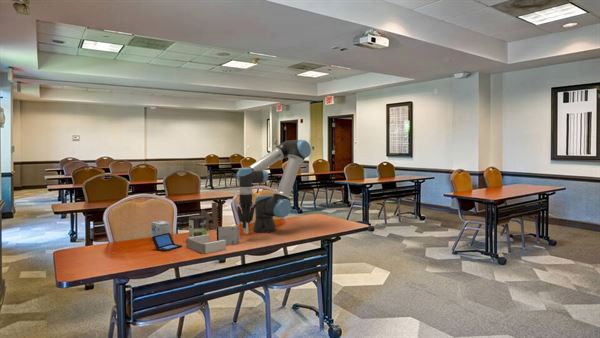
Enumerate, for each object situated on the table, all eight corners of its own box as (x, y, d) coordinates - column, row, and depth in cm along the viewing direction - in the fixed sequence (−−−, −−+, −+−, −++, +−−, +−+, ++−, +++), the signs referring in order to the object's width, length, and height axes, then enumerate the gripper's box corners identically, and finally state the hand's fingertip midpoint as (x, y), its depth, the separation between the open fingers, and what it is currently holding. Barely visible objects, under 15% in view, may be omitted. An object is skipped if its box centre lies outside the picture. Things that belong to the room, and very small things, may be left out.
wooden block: (201, 230, 261) (201, 203, 260) (216, 227, 268) (215, 202, 267) (204, 231, 258) (203, 204, 257) (218, 228, 265) (218, 202, 264)
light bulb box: (151, 239, 236) (151, 221, 236) (162, 237, 241) (161, 220, 241) (160, 242, 229) (159, 223, 229) (170, 239, 234) (170, 222, 233)
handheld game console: (165, 252, 206) (164, 238, 205) (151, 250, 211) (151, 236, 211) (183, 247, 217) (182, 234, 216) (169, 245, 222) (169, 232, 222)
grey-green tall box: (210, 238, 236) (209, 215, 235) (201, 242, 226) (200, 218, 225) (195, 237, 239) (194, 214, 238) (185, 241, 229) (185, 217, 228)
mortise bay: (208, 242, 225) (208, 234, 225) (225, 249, 210) (225, 240, 209) (186, 246, 216) (186, 238, 216) (202, 253, 201) (202, 244, 201)
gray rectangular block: (239, 241, 227) (238, 224, 227) (242, 243, 223) (242, 226, 222) (215, 244, 221) (215, 227, 220) (218, 246, 216) (218, 228, 215)
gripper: (239, 195, 222) (240, 235, 223) (258, 193, 230) (258, 232, 231) (232, 194, 227) (233, 233, 228) (251, 192, 236) (251, 231, 237)
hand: (246, 233), depth 230 cm, fingers closed
